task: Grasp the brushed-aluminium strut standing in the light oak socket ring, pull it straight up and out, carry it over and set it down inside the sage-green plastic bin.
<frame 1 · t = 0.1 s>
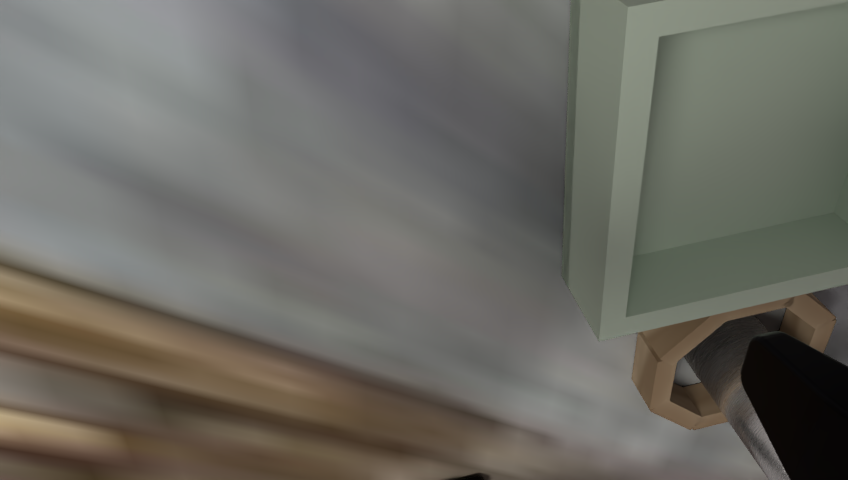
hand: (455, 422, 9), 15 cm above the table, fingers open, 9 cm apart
bin: (727, 113, 25), on the table
socket ring: (718, 336, 34), on the table
strut: (718, 336, 34), resting in socket ring
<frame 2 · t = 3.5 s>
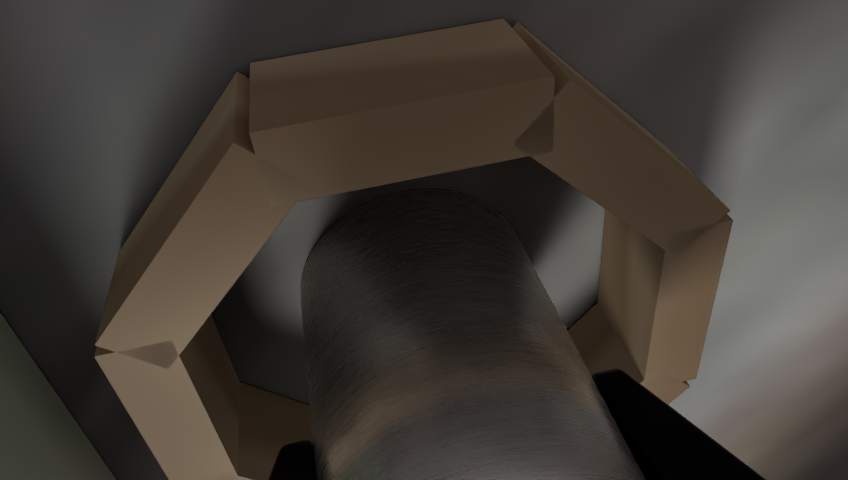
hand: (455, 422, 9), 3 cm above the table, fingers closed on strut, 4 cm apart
socket ring: (415, 285, 12), on the table
strut: (414, 284, 12), resting in socket ring, touching gripper
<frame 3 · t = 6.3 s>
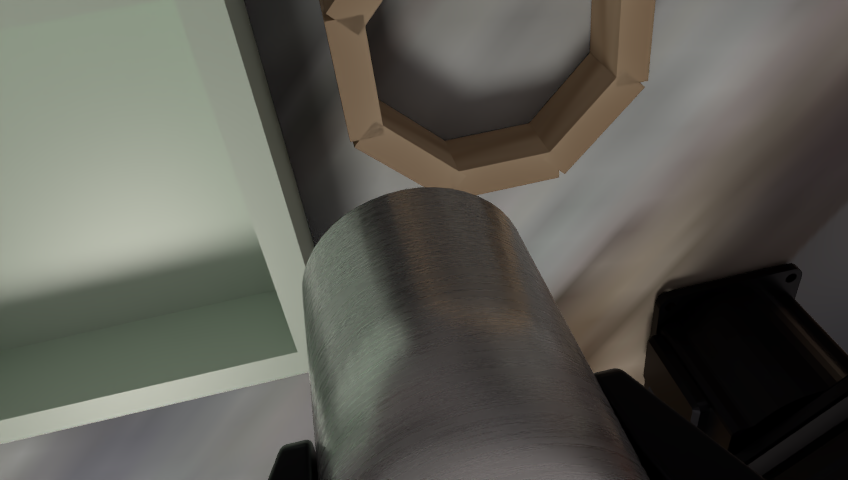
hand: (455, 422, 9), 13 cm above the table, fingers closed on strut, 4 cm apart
bin: (68, 174, 20), on the table
socket ring: (479, 28, 20), on the table
strut: (416, 283, 12), point 10 cm above the table, touching gripper
when the fingers open (5 cm above the table, at t = 9.2 s): strut drops 1 cm, resting on bin.
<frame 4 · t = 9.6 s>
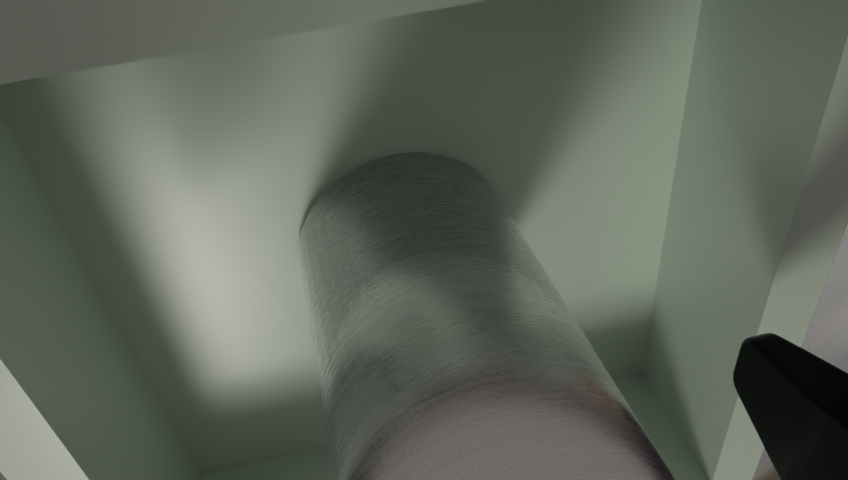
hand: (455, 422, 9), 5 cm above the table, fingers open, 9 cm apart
bin: (394, 222, 13), on the table
strut: (404, 246, 13), point 1 cm above the table, touching bin
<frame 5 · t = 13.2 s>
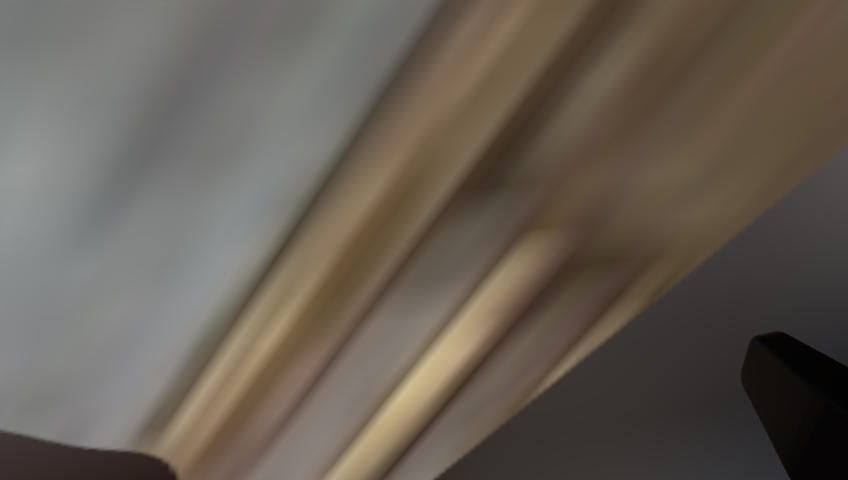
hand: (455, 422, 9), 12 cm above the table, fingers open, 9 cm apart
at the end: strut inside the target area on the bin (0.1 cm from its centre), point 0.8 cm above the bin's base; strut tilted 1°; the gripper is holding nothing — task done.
